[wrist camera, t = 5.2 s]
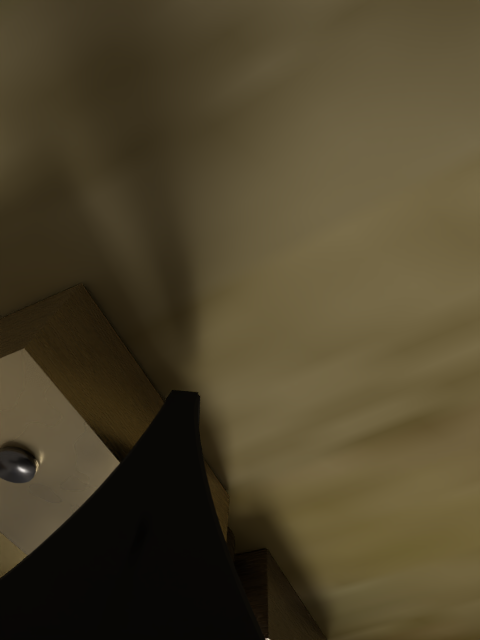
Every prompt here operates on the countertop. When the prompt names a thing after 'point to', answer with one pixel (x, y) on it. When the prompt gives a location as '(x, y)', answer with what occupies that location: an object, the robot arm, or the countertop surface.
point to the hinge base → (272, 597)
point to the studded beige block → (67, 414)
